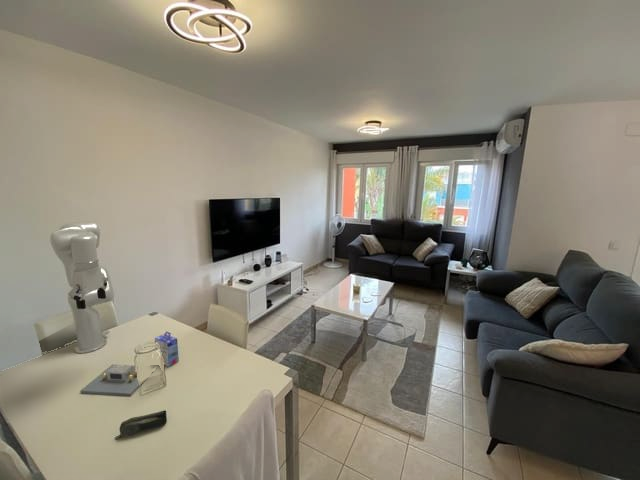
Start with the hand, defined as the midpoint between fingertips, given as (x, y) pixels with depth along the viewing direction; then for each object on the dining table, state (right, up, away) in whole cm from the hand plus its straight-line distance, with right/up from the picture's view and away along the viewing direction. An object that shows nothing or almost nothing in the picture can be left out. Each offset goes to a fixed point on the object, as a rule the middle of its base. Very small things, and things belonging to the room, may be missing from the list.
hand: (92, 303), depth 111 cm
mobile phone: (+35, -40, -20) cm, 56 cm away
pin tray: (+11, -34, +2) cm, 36 cm away
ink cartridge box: (+23, -32, +16) cm, 43 cm away
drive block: (+11, -33, +2) cm, 35 cm away
